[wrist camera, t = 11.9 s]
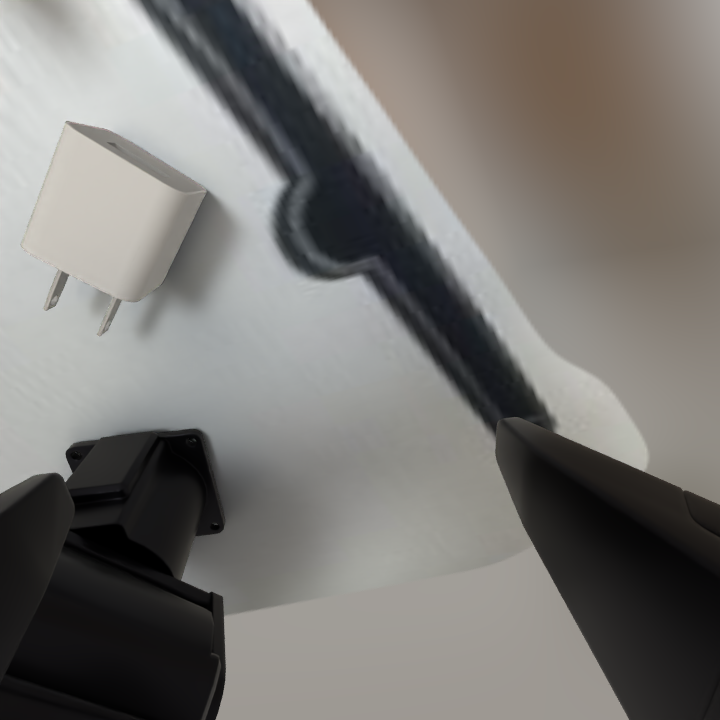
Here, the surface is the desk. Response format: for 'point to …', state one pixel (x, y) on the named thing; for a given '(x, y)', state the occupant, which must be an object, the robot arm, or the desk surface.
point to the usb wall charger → (109, 216)
